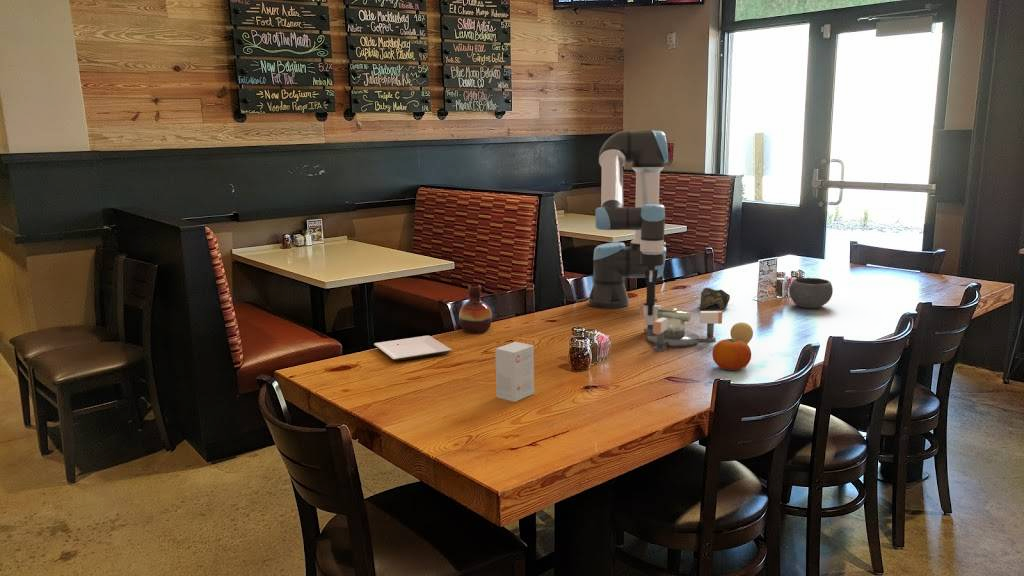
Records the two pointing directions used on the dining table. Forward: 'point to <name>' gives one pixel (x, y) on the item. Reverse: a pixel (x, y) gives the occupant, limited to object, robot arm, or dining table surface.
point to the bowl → (810, 292)
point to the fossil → (714, 298)
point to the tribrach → (676, 331)
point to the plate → (412, 348)
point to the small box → (514, 371)
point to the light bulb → (742, 332)
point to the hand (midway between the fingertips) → (650, 322)
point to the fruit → (731, 354)
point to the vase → (475, 312)
